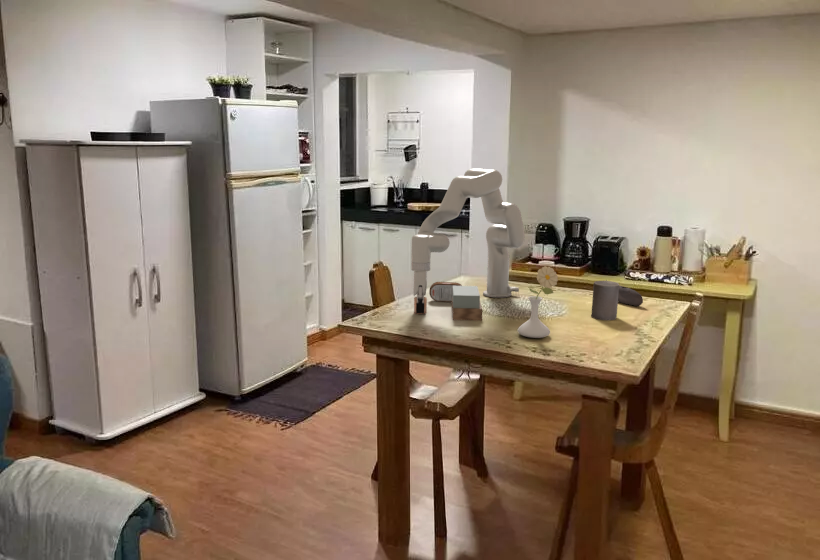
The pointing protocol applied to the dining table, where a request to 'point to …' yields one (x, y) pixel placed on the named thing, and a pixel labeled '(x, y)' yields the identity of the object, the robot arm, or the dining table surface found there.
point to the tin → (442, 291)
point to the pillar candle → (605, 300)
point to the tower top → (466, 297)
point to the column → (424, 305)
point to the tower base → (467, 313)
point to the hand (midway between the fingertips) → (420, 310)
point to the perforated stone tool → (629, 296)
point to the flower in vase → (534, 325)
